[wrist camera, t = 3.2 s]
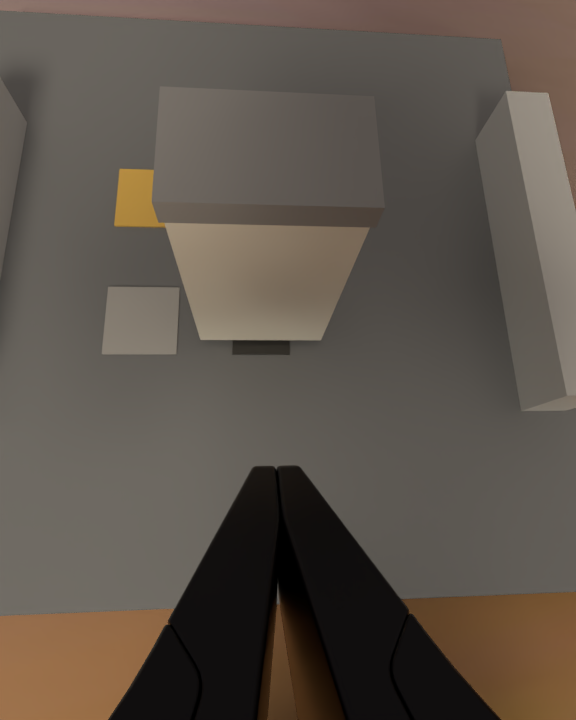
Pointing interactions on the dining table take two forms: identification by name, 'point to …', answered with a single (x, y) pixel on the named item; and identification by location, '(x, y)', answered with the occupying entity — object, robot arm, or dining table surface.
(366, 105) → the beige rectangular block
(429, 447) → the breaker panel
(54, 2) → the dining table surface
